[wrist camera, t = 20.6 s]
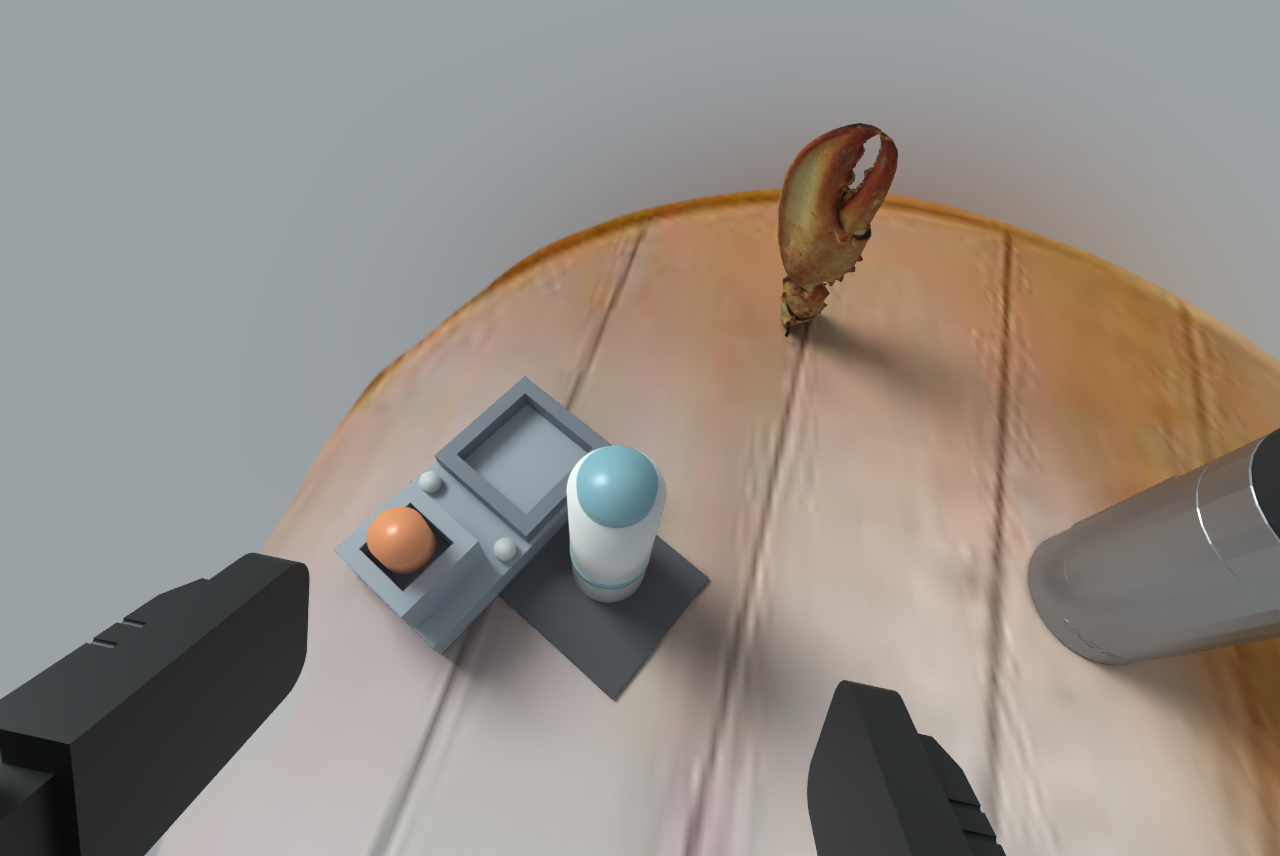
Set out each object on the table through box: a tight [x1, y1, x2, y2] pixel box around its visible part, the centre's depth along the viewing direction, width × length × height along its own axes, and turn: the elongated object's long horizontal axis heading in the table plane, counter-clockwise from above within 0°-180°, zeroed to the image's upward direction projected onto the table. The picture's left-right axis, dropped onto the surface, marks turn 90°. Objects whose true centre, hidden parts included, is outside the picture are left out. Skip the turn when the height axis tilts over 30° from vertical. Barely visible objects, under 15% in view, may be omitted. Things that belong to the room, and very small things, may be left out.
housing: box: [334, 377, 612, 654], centre depth 42 cm, size 17×9×6 cm, turn 140°
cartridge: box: [567, 446, 666, 603], centre depth 37 cm, size 5×5×14 cm
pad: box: [499, 520, 709, 699], centre depth 42 cm, size 10×10×1 cm
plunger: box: [367, 507, 436, 574], centre depth 36 cm, size 3×3×2 cm
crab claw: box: [778, 123, 898, 337], centre depth 45 cm, size 7×5×20 cm
